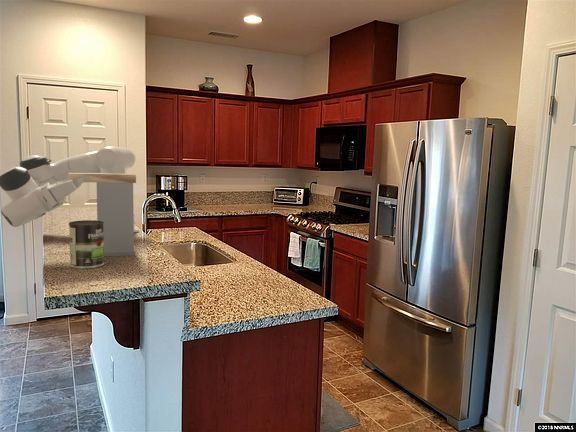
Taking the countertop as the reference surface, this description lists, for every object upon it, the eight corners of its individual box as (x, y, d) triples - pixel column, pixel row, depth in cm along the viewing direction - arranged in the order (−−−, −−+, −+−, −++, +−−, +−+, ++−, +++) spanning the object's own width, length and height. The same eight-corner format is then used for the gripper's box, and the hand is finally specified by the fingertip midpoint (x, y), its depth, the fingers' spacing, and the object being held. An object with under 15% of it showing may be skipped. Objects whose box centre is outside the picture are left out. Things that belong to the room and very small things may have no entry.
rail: (69, 181, 157) (69, 172, 157) (135, 182, 164) (135, 174, 164) (68, 182, 154) (68, 173, 153) (136, 182, 161) (135, 174, 161)
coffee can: (111, 263, 149) (110, 221, 147) (87, 270, 140) (86, 225, 138) (87, 259, 153) (86, 219, 151) (62, 266, 143) (61, 223, 141)
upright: (98, 251, 166) (96, 181, 162) (134, 249, 170) (134, 181, 167) (96, 256, 158) (94, 183, 154) (135, 255, 162) (134, 183, 158)
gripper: (60, 200, 165) (95, 182, 168) (52, 207, 146) (91, 186, 149) (50, 185, 163) (86, 167, 166) (40, 190, 144) (80, 169, 147)
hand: (88, 176), depth 157 cm, fingers closed on rail, 3 cm apart
